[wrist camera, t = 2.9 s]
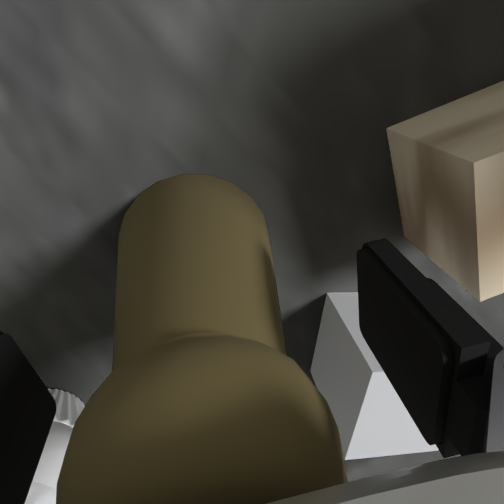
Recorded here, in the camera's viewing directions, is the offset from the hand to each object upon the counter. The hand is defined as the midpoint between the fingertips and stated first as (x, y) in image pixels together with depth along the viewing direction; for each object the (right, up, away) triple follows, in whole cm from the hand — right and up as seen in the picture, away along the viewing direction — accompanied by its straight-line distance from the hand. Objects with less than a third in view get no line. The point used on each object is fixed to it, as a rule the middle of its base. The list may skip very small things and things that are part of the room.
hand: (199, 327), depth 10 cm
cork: (-1, +2, +5) cm, 6 cm away
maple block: (+10, +6, +5) cm, 12 cm away
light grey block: (+7, -2, +9) cm, 12 cm away
